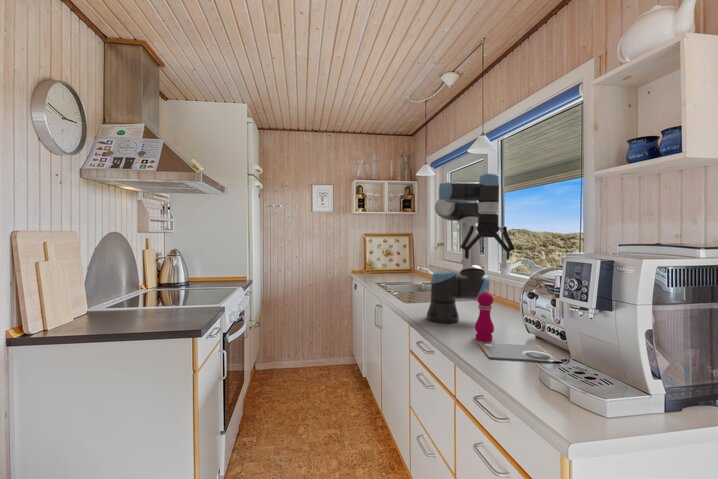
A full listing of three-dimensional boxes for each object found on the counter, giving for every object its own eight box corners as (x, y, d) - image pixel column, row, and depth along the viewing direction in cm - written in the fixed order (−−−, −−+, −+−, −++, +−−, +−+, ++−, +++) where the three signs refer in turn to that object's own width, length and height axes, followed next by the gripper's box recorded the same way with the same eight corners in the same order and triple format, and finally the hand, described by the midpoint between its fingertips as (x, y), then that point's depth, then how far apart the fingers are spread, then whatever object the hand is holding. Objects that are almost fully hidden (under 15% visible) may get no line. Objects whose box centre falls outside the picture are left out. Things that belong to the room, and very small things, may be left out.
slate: (477, 344, 135) (477, 342, 135) (538, 347, 133) (538, 345, 133) (490, 360, 118) (490, 357, 118) (559, 363, 116) (559, 361, 116)
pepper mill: (490, 337, 145) (492, 288, 145) (495, 342, 138) (497, 290, 138) (472, 336, 146) (474, 287, 145) (476, 341, 139) (478, 290, 138)
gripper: (457, 212, 138) (455, 267, 139) (524, 213, 136) (522, 269, 136) (454, 213, 146) (452, 265, 146) (517, 214, 143) (515, 267, 144)
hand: (486, 267), depth 141 cm, fingers open, 13 cm apart
